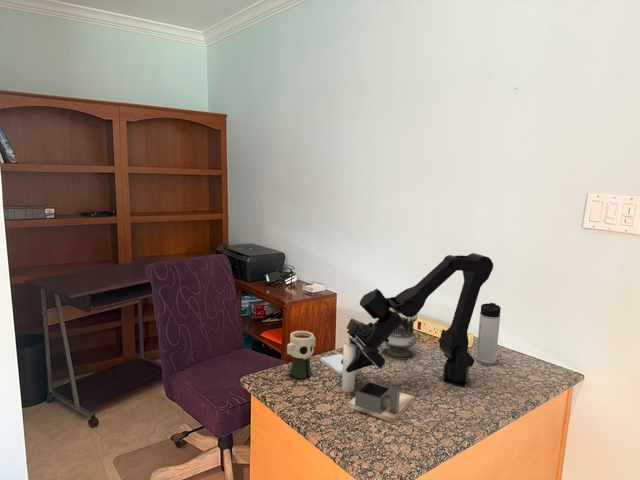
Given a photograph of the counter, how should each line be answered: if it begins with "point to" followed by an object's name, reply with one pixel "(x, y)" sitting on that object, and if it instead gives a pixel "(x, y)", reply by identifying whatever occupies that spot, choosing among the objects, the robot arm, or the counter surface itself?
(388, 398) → the cup bracket
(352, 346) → the white tall cylinder
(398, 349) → the apothecary jar
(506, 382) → the counter surface
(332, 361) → the hard drive
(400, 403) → the mounting board
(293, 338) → the character mug
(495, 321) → the travel mug
